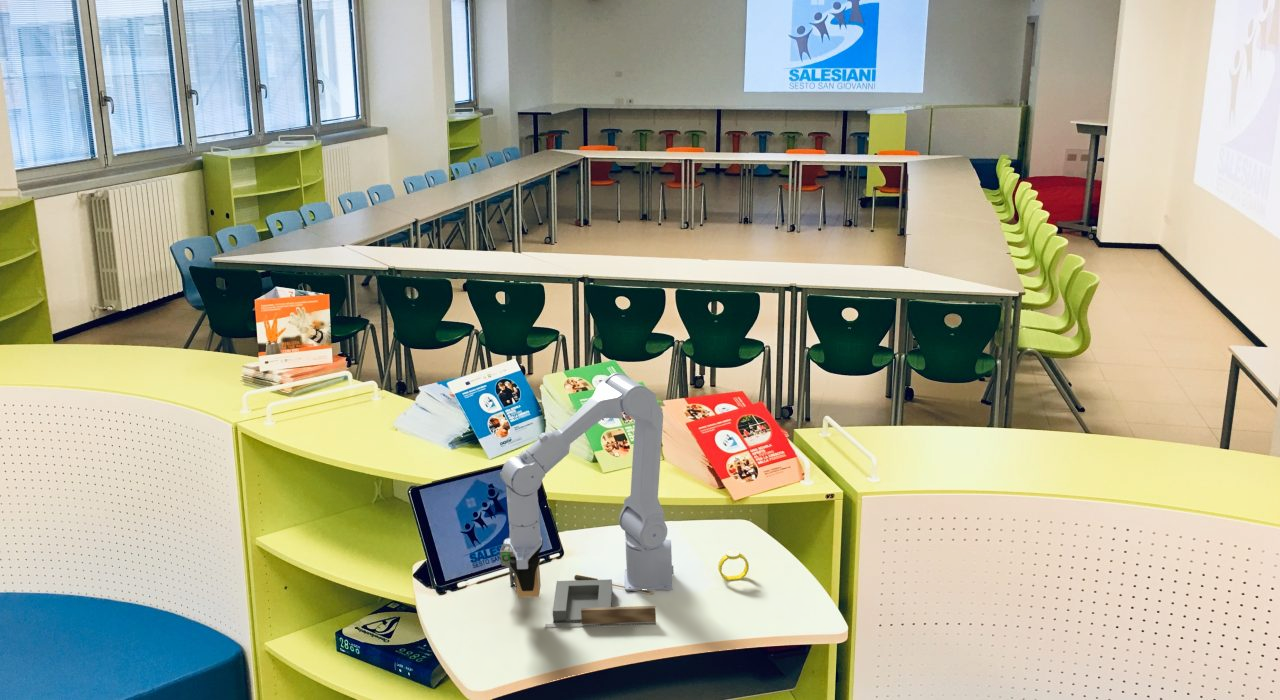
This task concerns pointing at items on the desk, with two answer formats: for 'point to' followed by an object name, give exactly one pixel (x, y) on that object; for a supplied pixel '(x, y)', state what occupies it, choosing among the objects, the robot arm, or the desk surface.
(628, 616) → the wooden plank
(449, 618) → the desk surface
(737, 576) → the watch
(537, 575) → the jaw block
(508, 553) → the mechanical component
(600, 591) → the housing
